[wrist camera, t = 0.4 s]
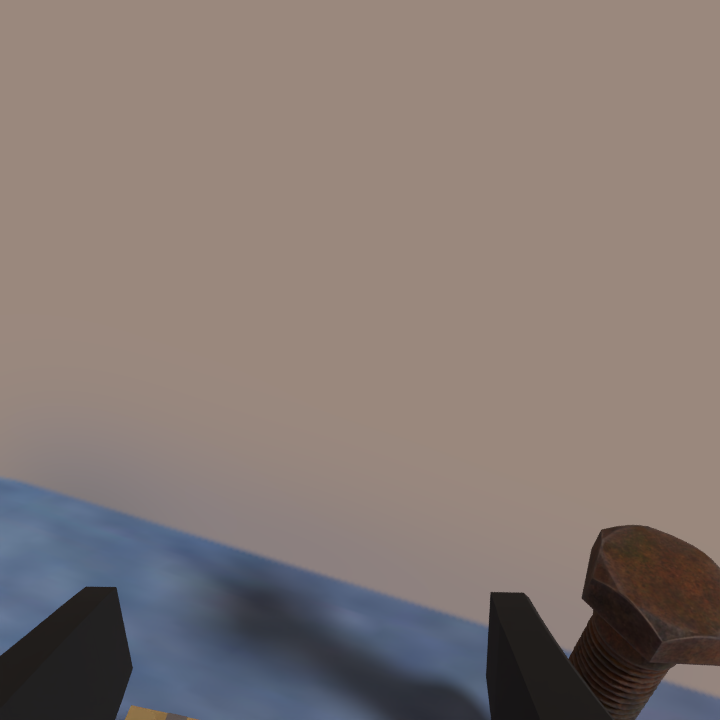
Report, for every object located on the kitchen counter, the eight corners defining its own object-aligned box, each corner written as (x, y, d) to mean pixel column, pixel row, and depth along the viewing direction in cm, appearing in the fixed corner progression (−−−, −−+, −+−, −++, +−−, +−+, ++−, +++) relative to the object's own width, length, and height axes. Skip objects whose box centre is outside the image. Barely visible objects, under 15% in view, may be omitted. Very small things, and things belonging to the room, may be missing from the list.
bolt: (463, 757, 31) (564, 542, 23) (531, 709, 34) (640, 504, 26) (552, 882, 27) (708, 671, 19) (621, 816, 30) (779, 610, 22)
